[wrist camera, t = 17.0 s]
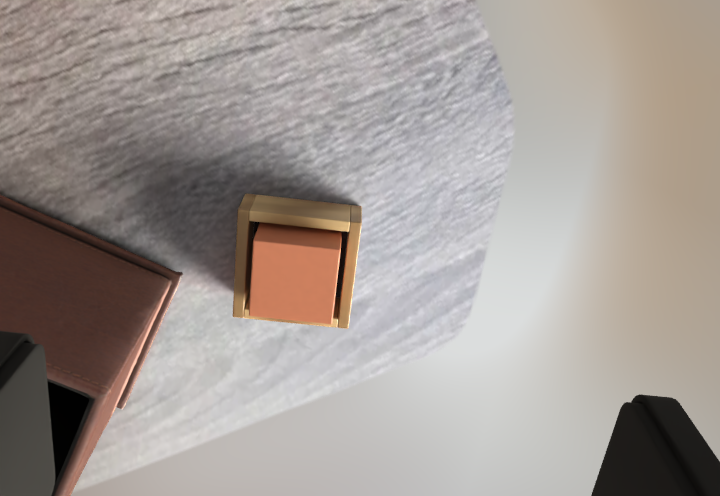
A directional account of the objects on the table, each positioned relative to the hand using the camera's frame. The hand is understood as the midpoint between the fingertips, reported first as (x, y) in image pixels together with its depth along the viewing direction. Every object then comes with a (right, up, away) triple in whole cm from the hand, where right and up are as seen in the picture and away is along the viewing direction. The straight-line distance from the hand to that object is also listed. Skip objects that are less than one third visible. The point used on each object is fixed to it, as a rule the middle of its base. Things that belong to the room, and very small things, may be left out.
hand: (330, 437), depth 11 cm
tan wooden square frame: (-3, +3, +28) cm, 28 cm away
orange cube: (-3, +3, +28) cm, 28 cm away
